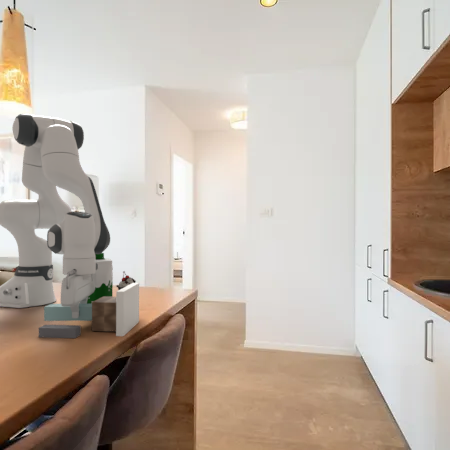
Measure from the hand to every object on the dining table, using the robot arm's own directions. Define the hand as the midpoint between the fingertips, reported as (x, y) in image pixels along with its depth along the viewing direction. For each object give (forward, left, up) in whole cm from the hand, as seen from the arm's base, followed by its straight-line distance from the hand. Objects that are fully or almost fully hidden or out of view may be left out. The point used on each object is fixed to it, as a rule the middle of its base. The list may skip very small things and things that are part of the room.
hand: (79, 315), depth 103 cm
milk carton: (-1, +17, -4) cm, 18 cm away
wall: (+15, 0, -4) cm, 15 cm away
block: (+10, 0, -4) cm, 10 cm away
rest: (-1, -8, -4) cm, 9 cm away
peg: (0, 0, -1) cm, 1 cm away
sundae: (+10, +13, -4) cm, 17 cm away
